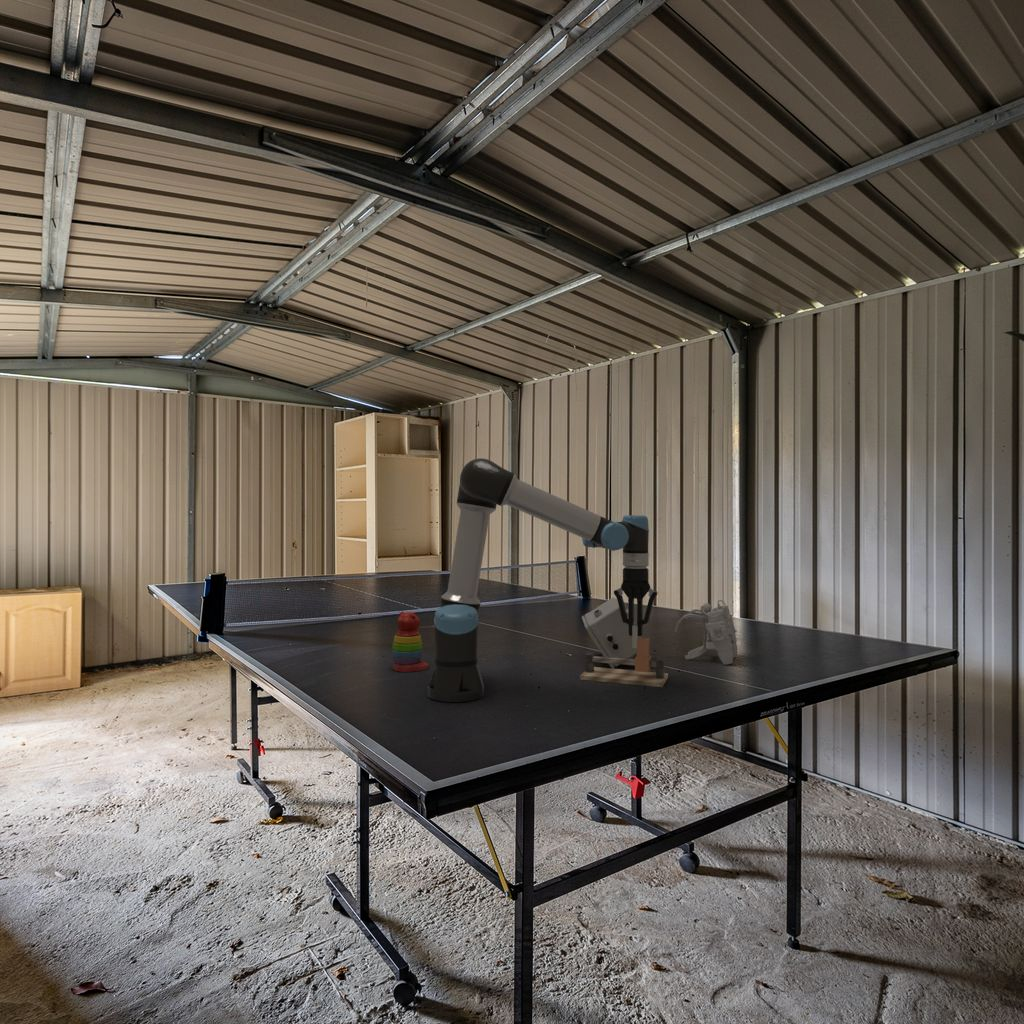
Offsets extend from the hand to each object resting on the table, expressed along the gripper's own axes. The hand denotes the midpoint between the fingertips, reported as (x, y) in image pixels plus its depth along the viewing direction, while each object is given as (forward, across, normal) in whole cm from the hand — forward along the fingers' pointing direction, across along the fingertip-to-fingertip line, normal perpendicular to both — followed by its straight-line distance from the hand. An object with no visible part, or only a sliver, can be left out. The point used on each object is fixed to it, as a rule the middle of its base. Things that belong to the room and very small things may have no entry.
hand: (635, 647), depth 194 cm
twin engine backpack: (+10, +18, +36) cm, 41 cm away
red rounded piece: (+10, -69, -12) cm, 71 cm away
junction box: (+10, -11, +21) cm, 26 cm away
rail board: (+10, -3, 0) cm, 10 cm away
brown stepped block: (+7, +2, 0) cm, 7 cm away
